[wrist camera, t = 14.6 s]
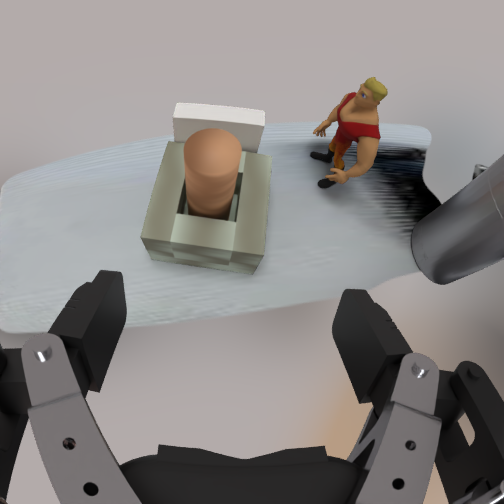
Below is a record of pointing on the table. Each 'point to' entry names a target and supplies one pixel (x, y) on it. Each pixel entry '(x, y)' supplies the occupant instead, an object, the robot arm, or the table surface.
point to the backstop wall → (219, 122)
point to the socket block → (206, 229)
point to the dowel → (211, 172)
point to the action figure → (353, 132)
